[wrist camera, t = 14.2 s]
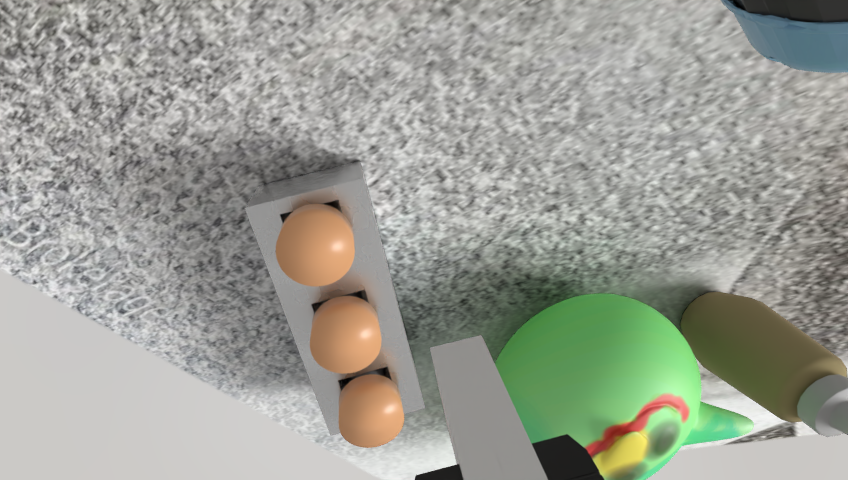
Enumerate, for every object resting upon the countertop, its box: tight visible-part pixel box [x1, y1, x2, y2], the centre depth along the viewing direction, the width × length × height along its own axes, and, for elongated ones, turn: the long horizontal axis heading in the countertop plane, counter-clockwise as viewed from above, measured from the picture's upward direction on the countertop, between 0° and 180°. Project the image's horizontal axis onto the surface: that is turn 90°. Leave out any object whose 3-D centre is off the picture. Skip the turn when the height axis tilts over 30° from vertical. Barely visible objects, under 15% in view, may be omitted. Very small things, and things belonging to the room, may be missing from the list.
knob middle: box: [310, 291, 381, 374], centre depth 36 cm, size 5×5×8 cm
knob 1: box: [276, 201, 355, 287], centre depth 33 cm, size 5×5×8 cm
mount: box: [245, 161, 425, 435], centre depth 38 cm, size 20×8×6 cm, turn 12°
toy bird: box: [495, 293, 754, 480], centre depth 40 cm, size 18×17×15 cm
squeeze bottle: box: [680, 292, 848, 437], centre depth 40 cm, size 8×8×18 cm
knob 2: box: [339, 368, 404, 448], centre depth 38 cm, size 5×5×8 cm
